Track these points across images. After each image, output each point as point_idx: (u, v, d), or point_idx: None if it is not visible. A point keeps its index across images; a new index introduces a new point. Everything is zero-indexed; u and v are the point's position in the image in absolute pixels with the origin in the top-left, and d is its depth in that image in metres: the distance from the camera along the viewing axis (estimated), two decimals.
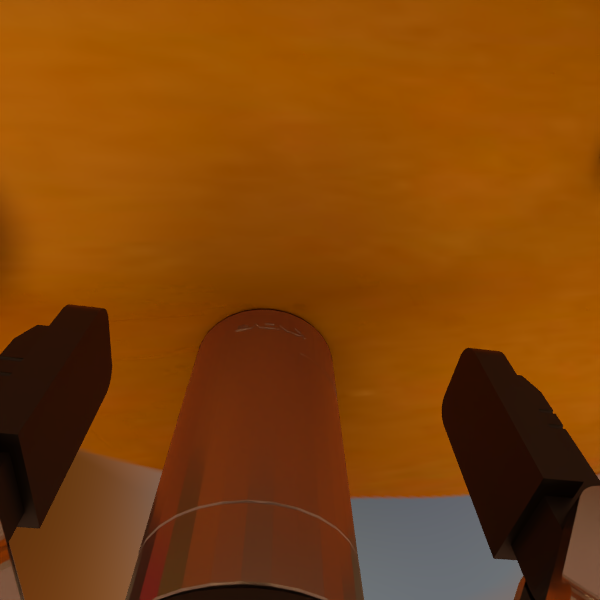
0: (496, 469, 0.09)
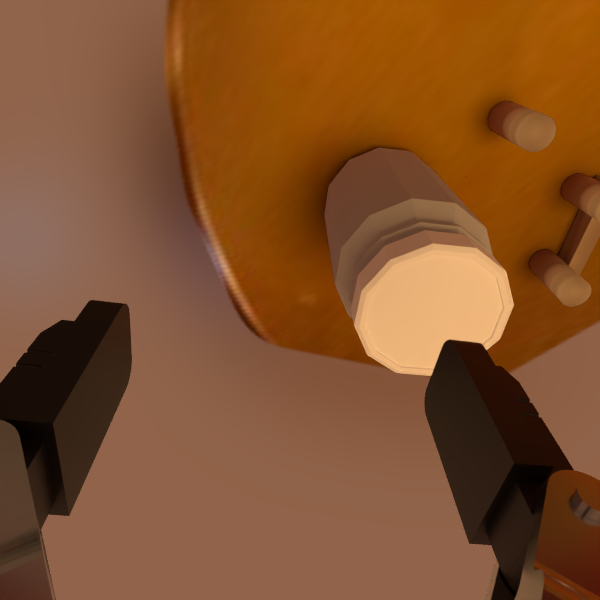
0: (472, 457, 0.09)
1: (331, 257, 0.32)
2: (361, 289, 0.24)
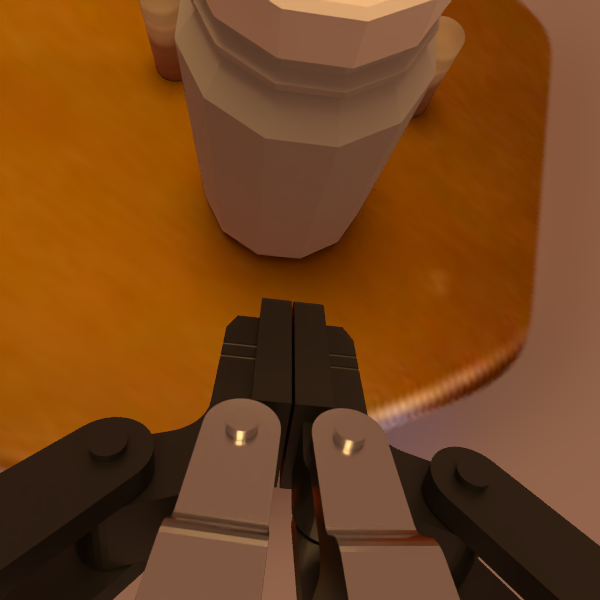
0: None
1: (318, 193, 0.19)
2: (281, 12, 0.12)
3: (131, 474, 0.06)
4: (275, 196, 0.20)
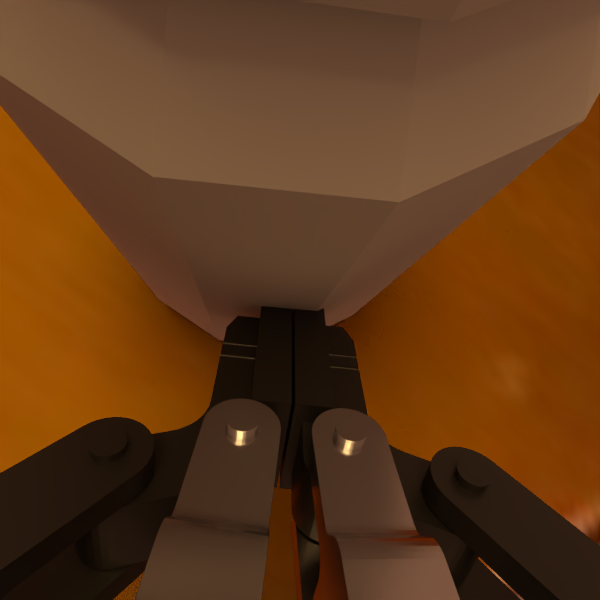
0: None
1: (326, 284, 0.08)
2: None
3: (131, 474, 0.06)
4: (229, 286, 0.09)
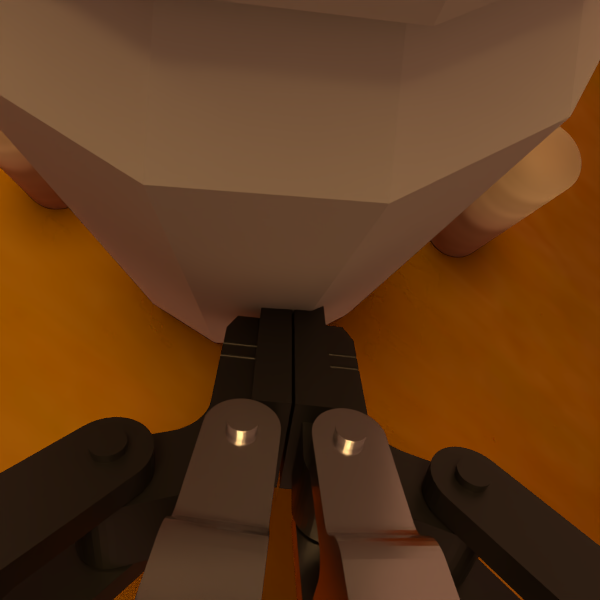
0: None
1: (319, 285, 0.08)
2: None
3: (131, 474, 0.06)
4: (223, 290, 0.09)
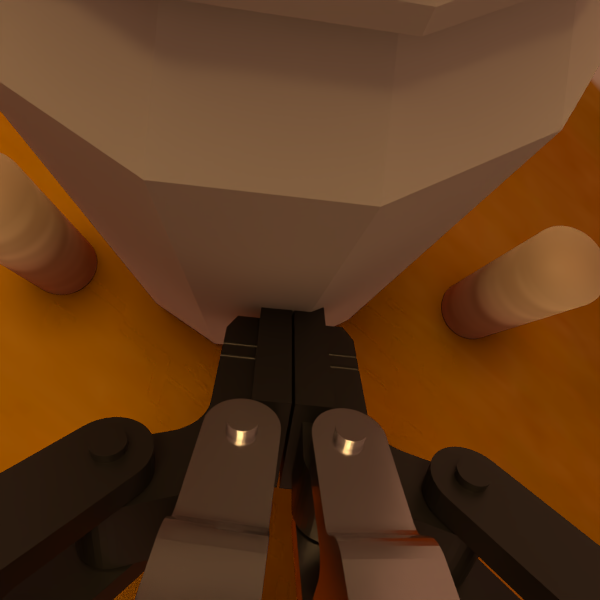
0: None
1: (316, 287, 0.09)
2: None
3: (131, 474, 0.06)
4: (221, 289, 0.09)
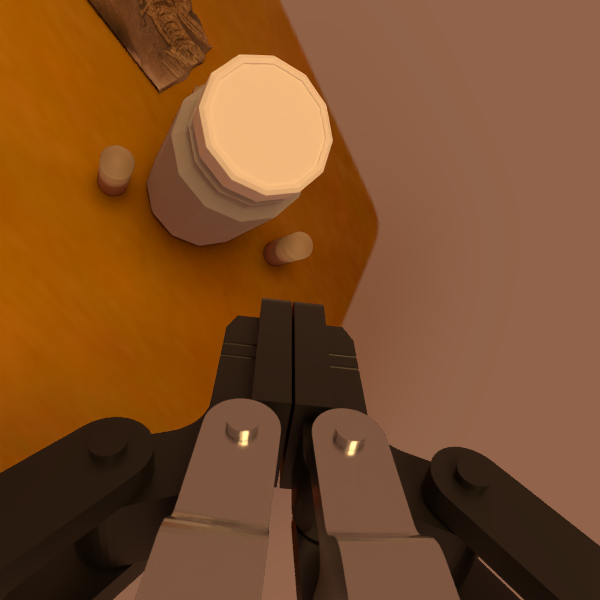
0: None
1: (223, 229, 0.35)
2: (231, 180, 0.27)
3: (131, 474, 0.06)
4: (198, 221, 0.35)
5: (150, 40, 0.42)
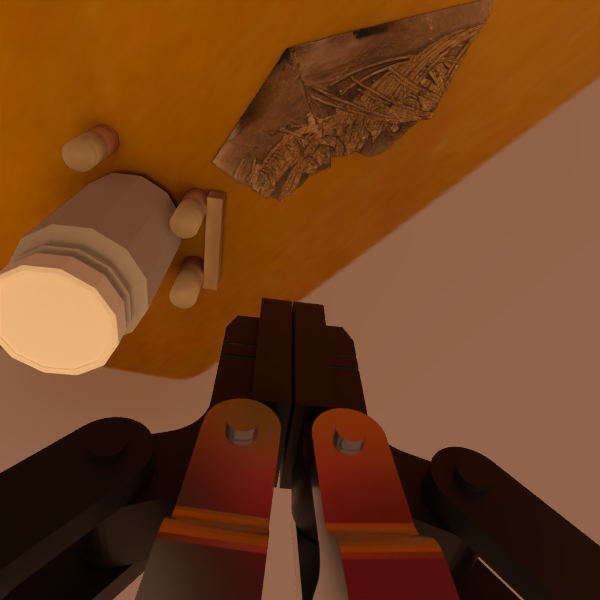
0: None
1: None
2: None
3: (131, 474, 0.06)
4: None
5: (258, 143, 0.41)
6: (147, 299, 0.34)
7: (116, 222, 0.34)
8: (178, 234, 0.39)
